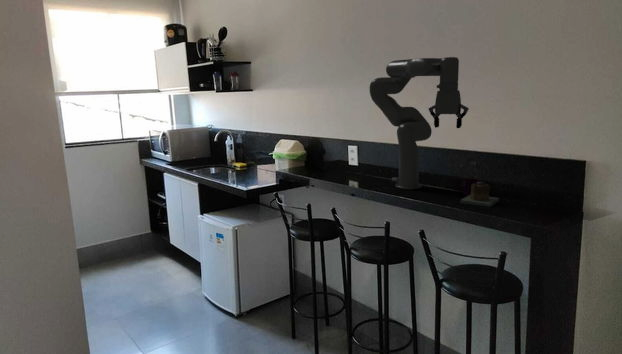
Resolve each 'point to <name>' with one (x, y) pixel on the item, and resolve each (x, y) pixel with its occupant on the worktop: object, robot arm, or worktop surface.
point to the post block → (482, 203)
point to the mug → (468, 185)
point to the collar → (480, 192)
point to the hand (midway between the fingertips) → (447, 127)
